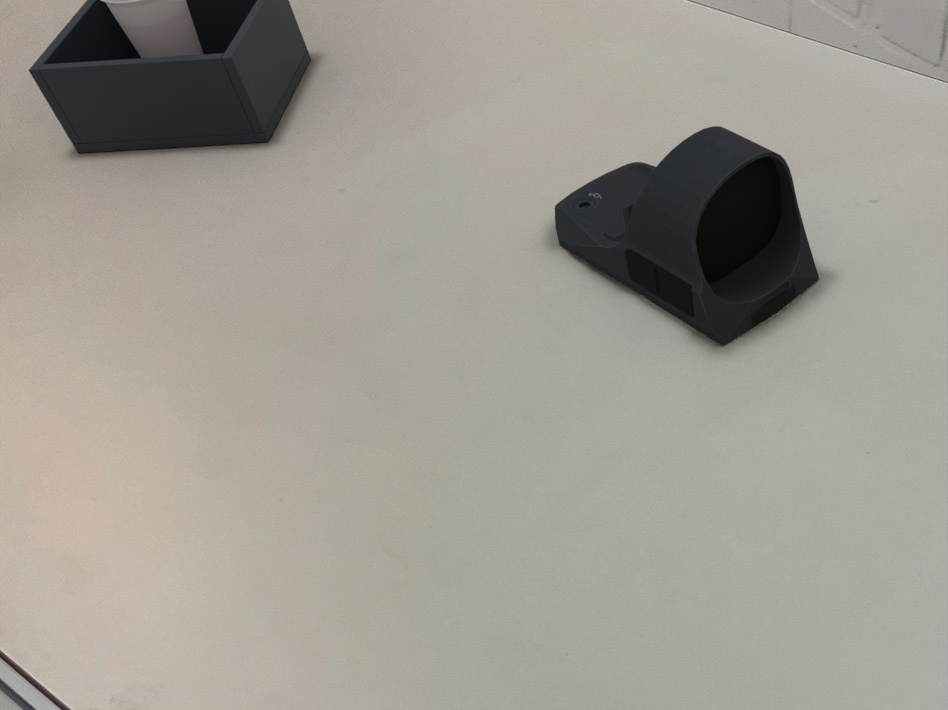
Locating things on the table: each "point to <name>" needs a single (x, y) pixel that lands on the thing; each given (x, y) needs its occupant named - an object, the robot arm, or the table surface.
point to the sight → (697, 232)
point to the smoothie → (157, 26)
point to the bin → (174, 78)
